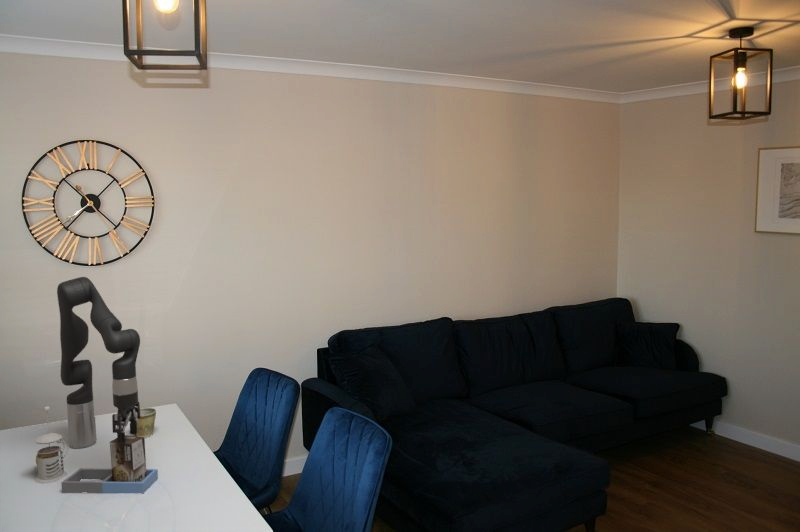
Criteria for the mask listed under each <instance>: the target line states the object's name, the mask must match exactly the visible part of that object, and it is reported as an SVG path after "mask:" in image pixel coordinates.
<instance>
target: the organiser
mask: <svg viewBox="0 0 800 532" xmlns="http://www.w3.org/2000/svg"><path fill="white" fill-rule="evenodd" d="M146 475H147V477H146V478H145V479H144V480H143V481H142V482H112V468H89V467H87V468H86V467H85V468H84V467H83V468H82V467H81V468H79V469H77V470H76V471H75V472H73V473H72V474H70V476H68V477H67V478H64V479H63V481H61V482H60V483H61V493H62V494H83V493H82V492H87V493H86V494H117V493H142V494H141V495H143V493H144V492H145V491H146V490H147V489H148V488H149V487H150V486H151V485H152V484H153V483H154V482H155V481H156V482H157V481H158V480H159V472H158V468H146ZM81 479H104V480H101V481H96V480H94V481H93V480H90V481H89V480H86V481H85V480H81ZM157 479H158V480H157ZM80 480H81V481H80ZM156 482H155V483H156ZM155 483H154V484H155ZM152 486H153V485H152ZM152 486H151V487H152ZM151 487H150V488H151ZM150 488H149V489H150ZM149 489H148V490H149ZM148 490H147V491H148ZM147 491H146V492H147ZM146 492H145V493H146ZM145 493H144V494H145Z"/></svg>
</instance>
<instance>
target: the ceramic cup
mask: <svg viewBox="0 0 800 532" xmlns="http://www.w3.org/2000/svg"><path fill="white" fill-rule="evenodd" d="M156 413H157V410H156V408H153V407H143V408H141V407H140V416H141V417H140V419H138V422H137V431H138V432H137V433H136V434H133V436H138V437H145V438H144V439H148V438H150V436H151V435H152V436H153V435H154V429H155V422H156V421H155V420H156V416H157V415H156ZM136 414H137V412H136ZM152 436H151V437H152ZM147 437H148V438H147Z"/></svg>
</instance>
